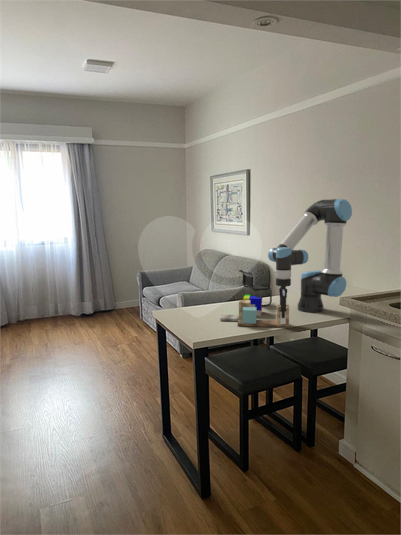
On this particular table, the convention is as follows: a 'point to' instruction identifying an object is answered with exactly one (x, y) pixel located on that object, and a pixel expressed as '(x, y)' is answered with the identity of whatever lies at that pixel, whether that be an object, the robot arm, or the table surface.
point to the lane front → (269, 322)
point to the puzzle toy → (255, 302)
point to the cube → (249, 315)
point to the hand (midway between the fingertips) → (282, 321)
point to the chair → (249, 283)
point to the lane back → (235, 317)
